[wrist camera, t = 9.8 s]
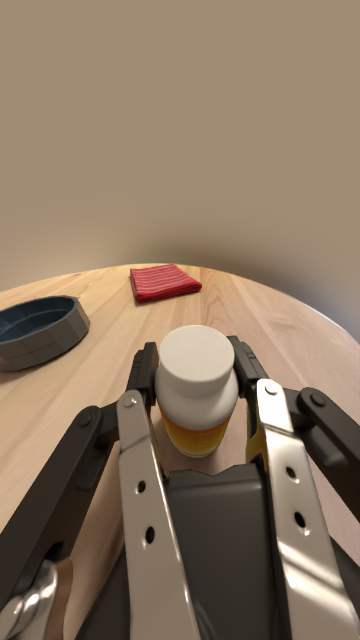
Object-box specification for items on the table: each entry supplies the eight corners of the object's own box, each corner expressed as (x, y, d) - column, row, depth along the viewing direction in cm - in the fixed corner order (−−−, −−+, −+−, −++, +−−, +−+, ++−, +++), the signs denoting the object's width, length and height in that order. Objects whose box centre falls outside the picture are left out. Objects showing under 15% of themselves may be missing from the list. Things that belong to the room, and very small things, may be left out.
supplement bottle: (231, 459, 11) (275, 399, 5) (162, 459, 11) (130, 401, 5) (217, 390, 15) (232, 316, 10) (168, 390, 15) (153, 319, 10)
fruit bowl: (93, 311, 31) (83, 290, 28) (87, 353, 21) (70, 327, 18) (18, 328, 27) (-3, 305, 24) (-33, 389, 17) (-79, 364, 14)
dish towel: (137, 306, 32) (134, 295, 30) (129, 275, 50) (127, 267, 48) (204, 291, 36) (204, 281, 35) (175, 268, 54) (174, 261, 53)
